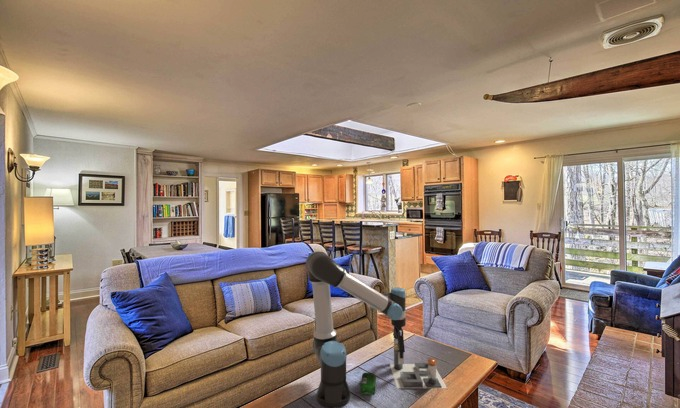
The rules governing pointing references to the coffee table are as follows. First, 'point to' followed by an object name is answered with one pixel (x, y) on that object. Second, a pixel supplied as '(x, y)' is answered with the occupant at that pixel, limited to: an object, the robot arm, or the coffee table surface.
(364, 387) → the snack package
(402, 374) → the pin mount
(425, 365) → the socket
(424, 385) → the dock board
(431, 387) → the pin pad
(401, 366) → the cylinder
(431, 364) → the lock pin
